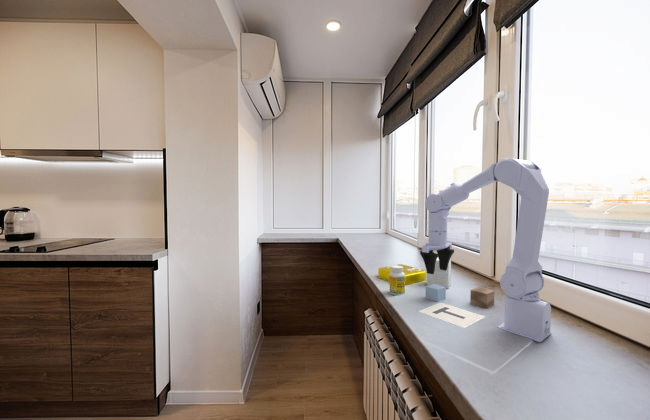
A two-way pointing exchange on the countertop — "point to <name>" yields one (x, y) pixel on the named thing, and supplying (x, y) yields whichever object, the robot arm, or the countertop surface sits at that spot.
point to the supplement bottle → (397, 281)
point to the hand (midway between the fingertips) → (436, 271)
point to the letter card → (452, 314)
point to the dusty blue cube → (435, 292)
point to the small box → (440, 276)
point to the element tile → (410, 273)
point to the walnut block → (482, 297)
